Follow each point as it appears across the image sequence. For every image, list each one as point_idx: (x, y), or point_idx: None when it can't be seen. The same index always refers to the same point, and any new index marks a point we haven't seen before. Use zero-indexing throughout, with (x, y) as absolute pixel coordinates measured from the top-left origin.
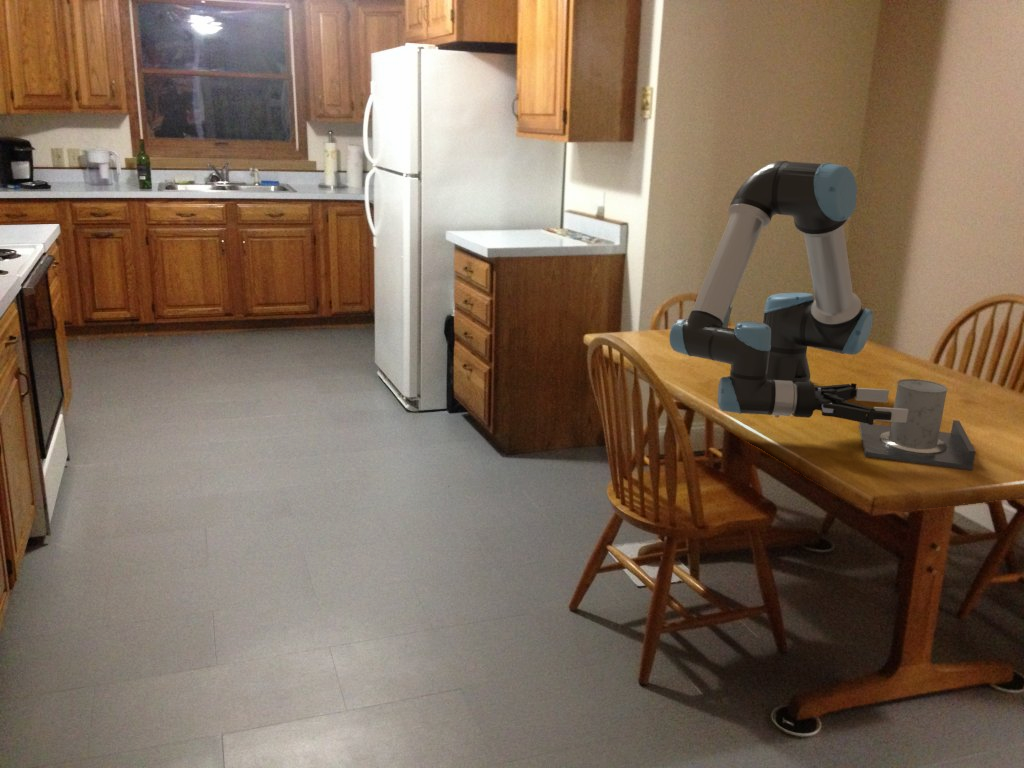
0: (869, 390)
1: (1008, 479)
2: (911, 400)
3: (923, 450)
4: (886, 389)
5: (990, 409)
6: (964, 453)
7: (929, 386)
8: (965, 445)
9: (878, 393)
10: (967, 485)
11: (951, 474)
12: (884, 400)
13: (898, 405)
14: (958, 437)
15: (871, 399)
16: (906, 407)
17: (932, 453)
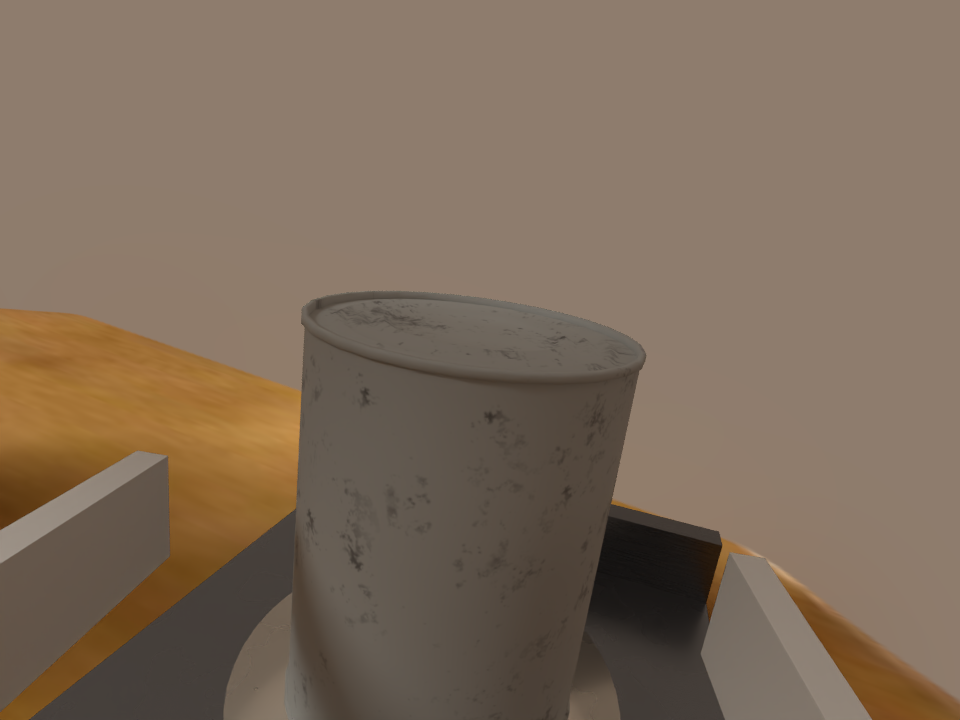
0: (5, 574)
1: (733, 551)
2: (599, 459)
3: (586, 688)
4: (127, 456)
5: (132, 361)
6: (632, 559)
7: (464, 318)
8: (630, 527)
9: (101, 536)
10: (934, 707)
11: None
12: (151, 556)
13: (489, 551)
14: None
15: (50, 642)
16: (568, 531)
17: (601, 663)
